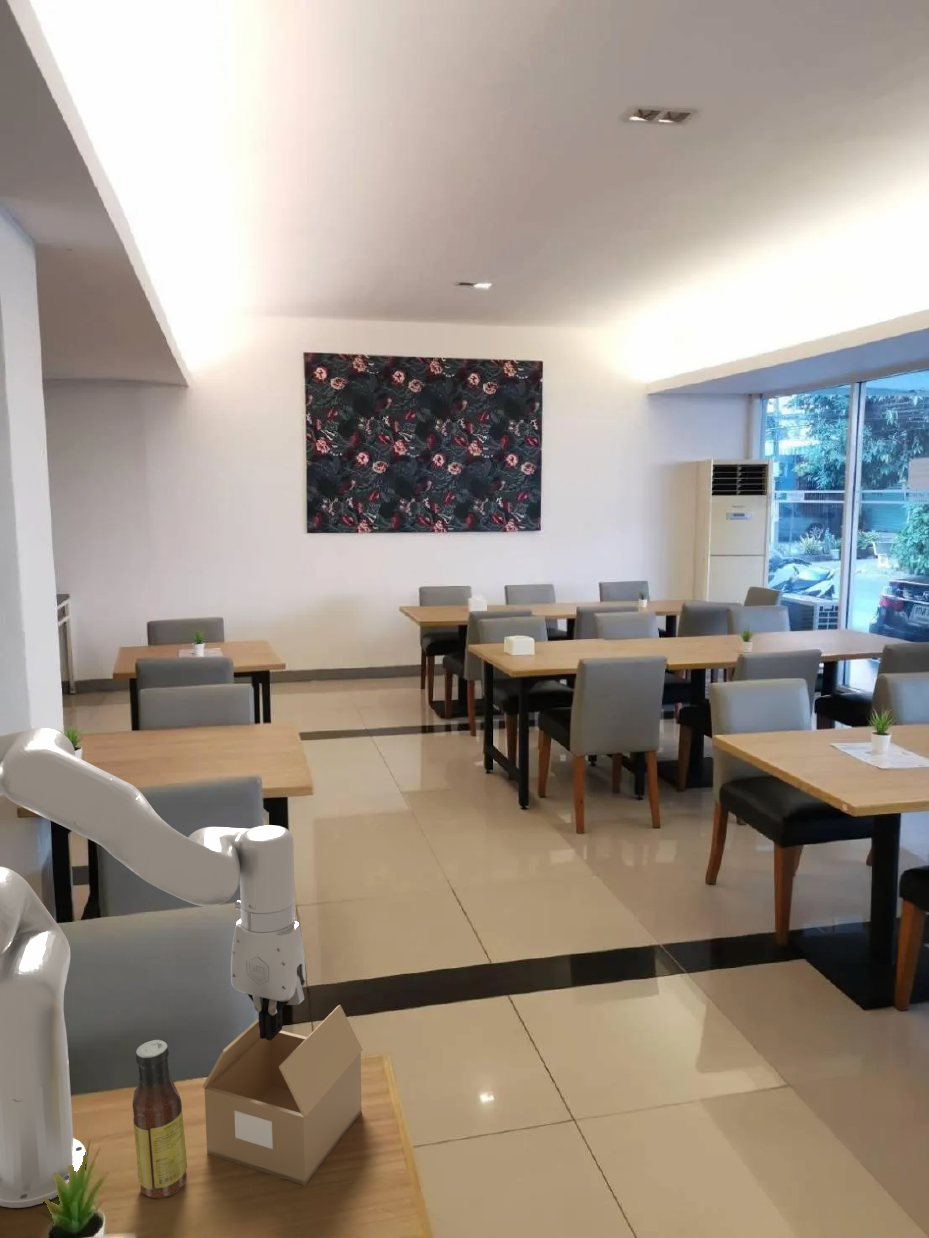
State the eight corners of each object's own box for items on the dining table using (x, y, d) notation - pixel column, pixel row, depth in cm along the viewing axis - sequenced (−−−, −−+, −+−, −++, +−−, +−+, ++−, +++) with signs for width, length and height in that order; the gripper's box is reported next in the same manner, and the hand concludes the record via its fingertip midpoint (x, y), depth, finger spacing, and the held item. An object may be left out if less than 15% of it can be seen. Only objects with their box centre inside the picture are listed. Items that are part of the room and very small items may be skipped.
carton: (206, 1154, 130) (204, 1088, 129) (271, 1086, 145) (269, 1027, 144) (304, 1185, 125) (303, 1117, 123) (361, 1112, 139) (360, 1050, 138)
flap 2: (360, 1050, 138) (362, 1049, 138) (303, 1117, 123) (305, 1116, 123) (338, 1005, 138) (340, 1004, 138) (278, 1066, 124) (280, 1065, 124)
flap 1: (204, 1088, 129) (202, 1086, 129) (269, 1027, 144) (267, 1025, 144) (225, 1051, 127) (222, 1050, 127) (288, 993, 142) (286, 992, 142)
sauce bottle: (194, 1168, 128) (189, 1035, 125) (176, 1203, 121) (169, 1063, 119) (149, 1165, 128) (142, 1032, 126) (128, 1199, 122) (121, 1060, 119)
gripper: (207, 916, 130) (212, 1036, 133) (299, 935, 125) (301, 1061, 127) (239, 894, 137) (243, 1010, 140) (327, 912, 132) (329, 1032, 134)
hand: (270, 1034), depth 134 cm, fingers closed
